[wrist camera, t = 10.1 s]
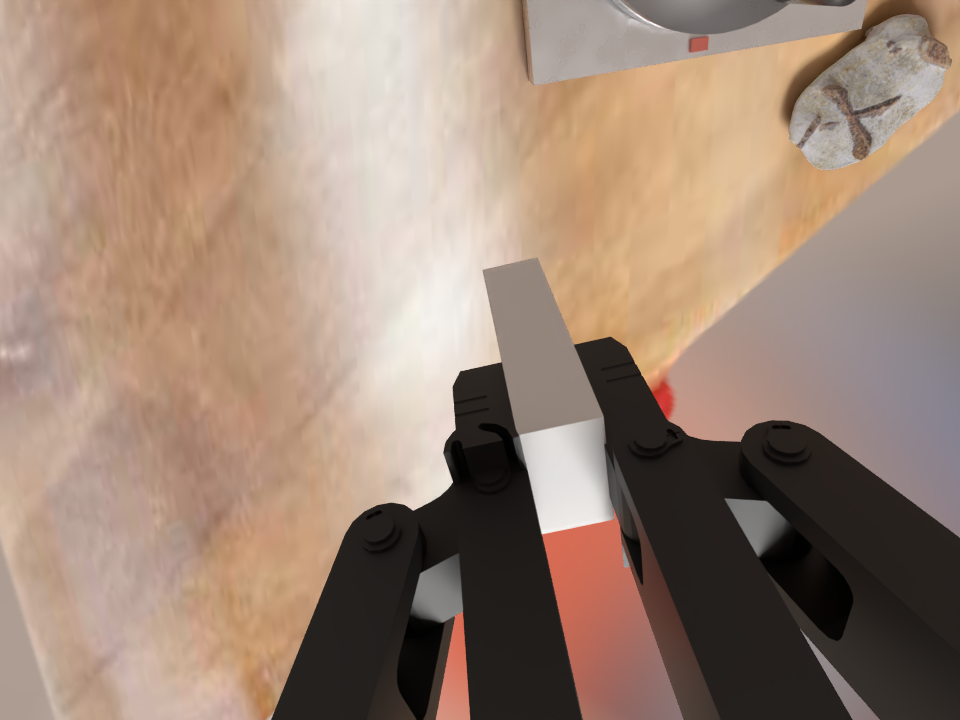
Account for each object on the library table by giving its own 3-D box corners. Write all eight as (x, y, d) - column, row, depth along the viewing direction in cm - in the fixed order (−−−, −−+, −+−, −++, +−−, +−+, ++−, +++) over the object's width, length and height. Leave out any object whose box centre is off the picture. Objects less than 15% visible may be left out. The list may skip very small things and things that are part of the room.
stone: (816, 184, 41) (838, 195, 39) (763, 116, 38) (784, 124, 36) (941, 74, 38) (973, 80, 35) (894, -11, 34) (926, -11, 32)
